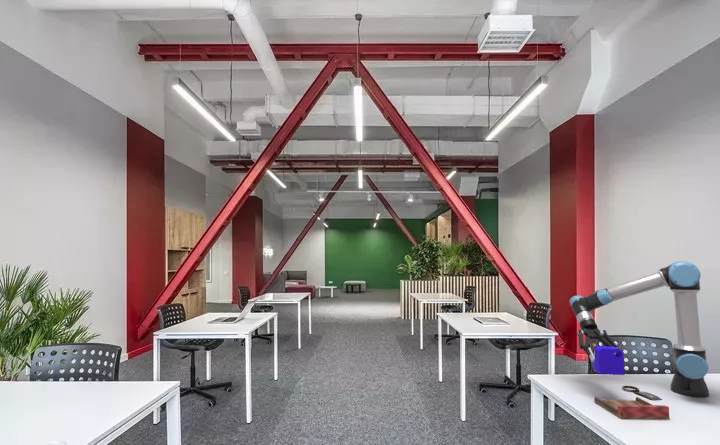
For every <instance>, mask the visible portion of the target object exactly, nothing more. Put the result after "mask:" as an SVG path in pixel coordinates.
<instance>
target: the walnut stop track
mask: <svg viewBox="0 0 720 445" xmlns="http://www.w3.org/2000/svg"><path fill="white" fill-rule="evenodd" d="M593 398H594V399H593V400H594V401H593V402H594V403H595V404H597V405H598V406H599V407H601V408H603V409H604V410H605V411H607V412H609V413H611V414H612V415H614V416H615V417H617V418H619V419H620V420H667V421H668V420H670V407H669V406H668V405H663V404H662V405H661V404H660V405H659V404H656V405H655V404H652V403H650V402H648V401H646V400H644V399H642V398H641V397H639V396H635V400H633V399H632V400H629V399H628V400H627V399H626V400H625V399H623V400H621V399H617V400H616V399H615V400H614V399H613V400H611V399H601V398H599V397H597V396H593Z"/></svg>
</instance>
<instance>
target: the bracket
mask: <svg viewBox="0 0 720 445" xmlns="http://www.w3.org/2000/svg"><path fill="white" fill-rule="evenodd" d="M615 352H616V354H615ZM624 356H625V355H624V351H623V350H622V349H621V348H618V347H606V346H596V347H595V348H594V357H595V361H594V362H591V366H592V369H593V371H594V373H597V374H598V375H610V376H611V375H614V376H615V375H616V376H625V358H624Z"/></svg>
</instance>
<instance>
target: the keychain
mask: <svg viewBox="0 0 720 445" xmlns="http://www.w3.org/2000/svg"><path fill="white" fill-rule="evenodd" d="M621 390H623V391H624V392H625V391H626V392H627V393H628V392H629V393H633V394H635V395H641V396H644V397H646V398H648V399H649V400H650V401H657V400H658V401H660V400H663V399H662V398H661V397H659V396H657V395H655V394H653V393H650V392H648V391H647V392H646V391H640V388H639V387H637V386H633V385H622V386H621Z"/></svg>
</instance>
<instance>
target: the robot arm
mask: <svg viewBox="0 0 720 445" xmlns="http://www.w3.org/2000/svg"><path fill="white" fill-rule="evenodd" d="M701 275H702V274H701V271H700V269H699V267H697V265H695V264H694V263H692V262H689V261H684V260H683V261H676V262H673V263H672V264H669V265H668V266H665V267H662V268H659V269H658V271H656V272H653V273H650V274H647V275H643V276H641V277H638V278H635V279H631V280H628V281H624V282H621V283H619V284H615V285H612V286H609V287H606V288H603V289H600V290H599V289H598V290H595V291H594V292H593V293H591V294H589V295H587V296H585V297H583V296H582V295H574V296H572V297H571V298H570V299H569V304H570V307H571V309H572V311H573V313H574V315H575V318H576V320H577V322H578V324H579V327H580V329H578V330H577V332H576V334H577V336H578V341H579V342H578V343H579V344H578V345H579V349H580V350H583V352H585V353H586V355H587V356H588V357H589V359H590V361H591V363H592V362H594V361H595V357H594V356H595V354H594V353H593V351H592V348H591V347H589V344H590V340H597V341H598V342H600V343H601V344H602V345H604V347H616V348H618V345H617V344H616V343H615V341H614V340H613V339H612V338H611V337H610V335H609V334H608V333H607V331H606V330H605V329H603V330H600V329H599V328H598V325H597V323H596V321H595V318H594V316H593V315H592V313H591V312H592V311H594V310H596V309H599V308H601V307H603V306H607V305H609V304H611V303H612V302H616V301H618V300H622V299H625V298H629V297H631V296H635V295H638V294H642V293H646V292H649V291H652V290H656V289H659V288H662V287H667V288H669V290H670V291H671V292H672V293H673V298H674V308H675V320H676V334H677V335H676V336H677V343H675V344H673V346H672V353H673V354H672V356H673V372H674V374H673V377H672V381H671V383H670V391H672V392H674V393H675V394H680V395H684V396H688V397H694V398H695V397H696V398H707V397H709V396H710V391H709V388H708V385H707V384H706V381H705V376H706V375H707V374H708V372H709V365H708V362H707V355H706V348H704V346H703V345H701V332H700V331H701V330H700V319H699V309H698V308H699V307H698V296H697V294H698V293H699V292H700V291H701V283H700V279H701ZM584 335H585V336H586V337H585V340H584ZM584 341H585V342H584ZM615 354H616V352H615Z"/></svg>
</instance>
